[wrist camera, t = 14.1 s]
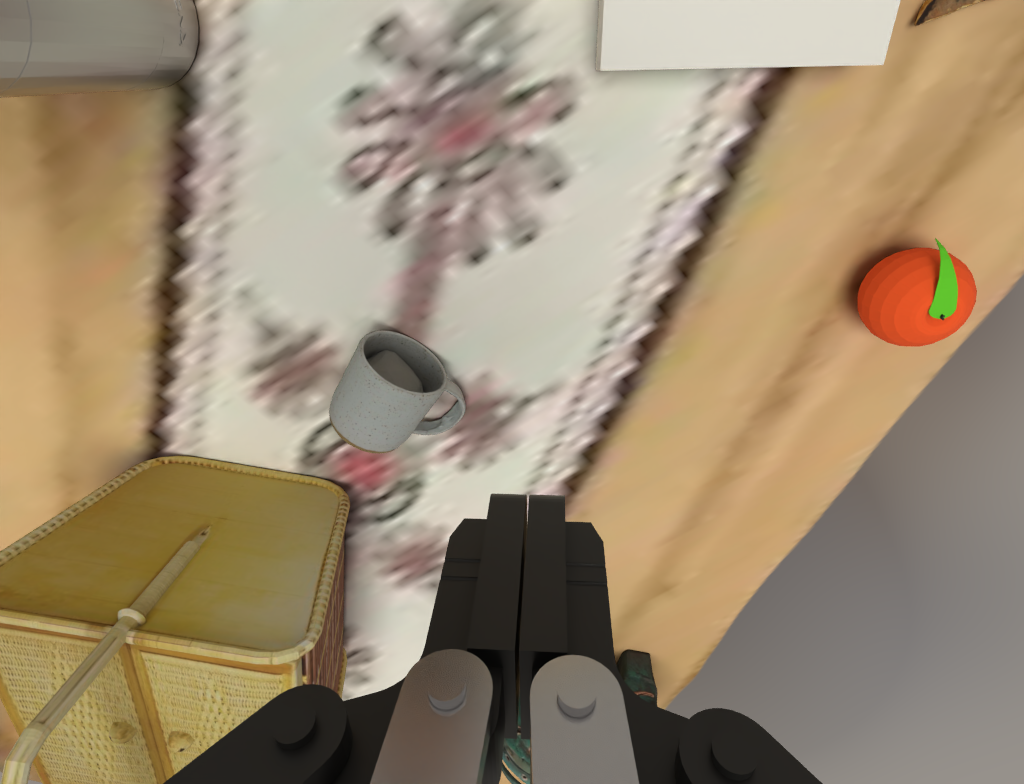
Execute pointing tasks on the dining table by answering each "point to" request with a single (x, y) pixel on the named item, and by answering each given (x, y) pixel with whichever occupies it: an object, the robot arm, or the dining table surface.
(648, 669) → the ceramic cat
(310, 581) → the picnic basket
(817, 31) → the white slab
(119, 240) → the dining table surface
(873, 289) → the clementine
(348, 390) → the ceramic mug
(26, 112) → the dining table surface
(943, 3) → the shard
